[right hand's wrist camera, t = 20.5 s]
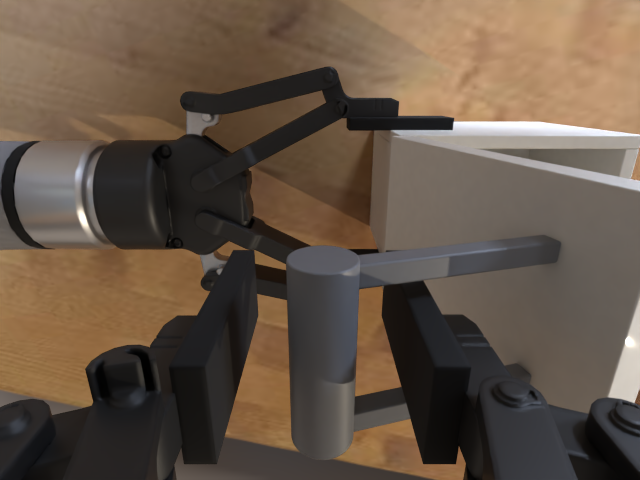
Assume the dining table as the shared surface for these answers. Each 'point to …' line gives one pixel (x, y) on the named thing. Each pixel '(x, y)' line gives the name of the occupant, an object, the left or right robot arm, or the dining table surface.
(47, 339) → the dining table surface
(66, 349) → the dining table surface
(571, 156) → the chest
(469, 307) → the cabinet door with handle
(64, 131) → the dining table surface
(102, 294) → the dining table surface
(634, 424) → the right robot arm
